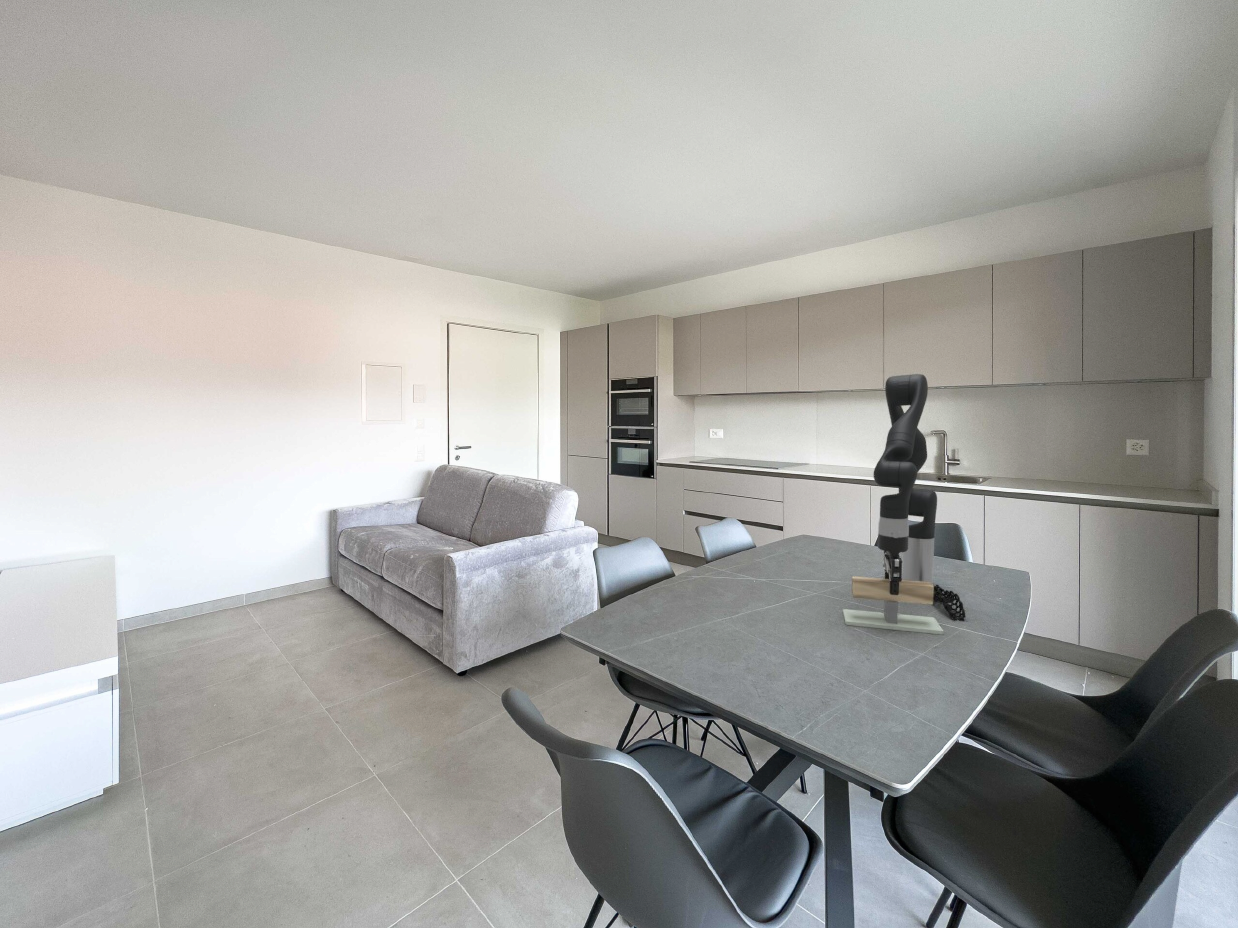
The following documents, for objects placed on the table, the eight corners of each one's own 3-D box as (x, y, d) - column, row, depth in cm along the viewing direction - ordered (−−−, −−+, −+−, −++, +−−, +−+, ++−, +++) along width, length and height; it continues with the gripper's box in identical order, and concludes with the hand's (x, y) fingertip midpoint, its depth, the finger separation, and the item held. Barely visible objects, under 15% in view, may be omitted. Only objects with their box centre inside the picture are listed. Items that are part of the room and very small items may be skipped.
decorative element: (969, 622, 151) (970, 602, 150) (949, 621, 152) (950, 601, 151) (938, 596, 173) (939, 578, 172) (921, 595, 174) (922, 577, 173)
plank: (851, 593, 155) (852, 576, 155) (929, 599, 149) (930, 582, 149) (853, 597, 151) (853, 580, 151) (932, 604, 145) (933, 586, 145)
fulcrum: (842, 612, 159) (843, 589, 159) (934, 620, 152) (935, 596, 151) (845, 624, 150) (846, 600, 149) (943, 634, 142) (944, 609, 142)
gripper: (874, 527, 156) (873, 581, 158) (882, 537, 143) (880, 596, 144) (903, 528, 154) (901, 583, 156) (913, 539, 141) (911, 599, 142)
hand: (891, 589), depth 150 cm, fingers open, 8 cm apart
